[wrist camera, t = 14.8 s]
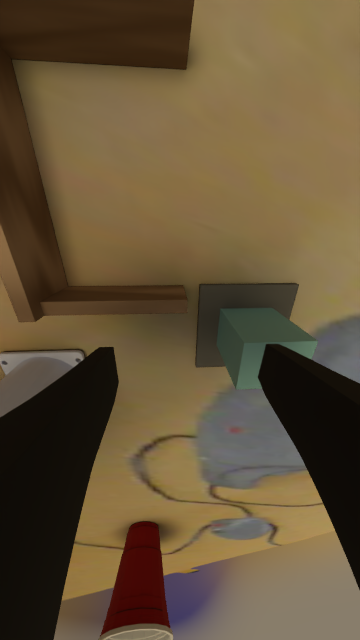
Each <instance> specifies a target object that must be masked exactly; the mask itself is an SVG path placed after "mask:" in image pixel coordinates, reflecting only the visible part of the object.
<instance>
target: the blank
mask: <svg viewBox="0 0 360 640" xmlns="http://www.w3.org/2000/svg"><path fill="white" fill-rule="evenodd" d="M317 343H318V341H317V340H316V339H315V338H313V337H312V336H310V335H309V334H308V333H306V332H305V331H304V330H302V329H301V328H299V327H298V326H297V325H295V324H294V323H292V322H291V321H290V320H288V319H287V318H286V317H284V316H283V315H281V314H280V313H279V312H277V311H276V310H274V309H273V308H233V309H220V317H219V327H218V336H217V347H218V350H219V352H220V354H221V356H222V359H223V361H224V363H225V366H226V368H227V370H228V372H229V375H230V377H231V379H232V382H233V384H234V386H235V388H236V389H259V388H262V387H261V384H260V382H259V379H258V374H259V370H260V366H261V362H262V358H263V354H264V350H265V346H266V344H280V345H282V346H285V347H287V348H289V349H291V350H293V351H295V352H297V353H299V354H301V355H303V356H305V357H307V358H309V359H312V356H313V354H314V351H315V348H316V346H317Z"/></svg>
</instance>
